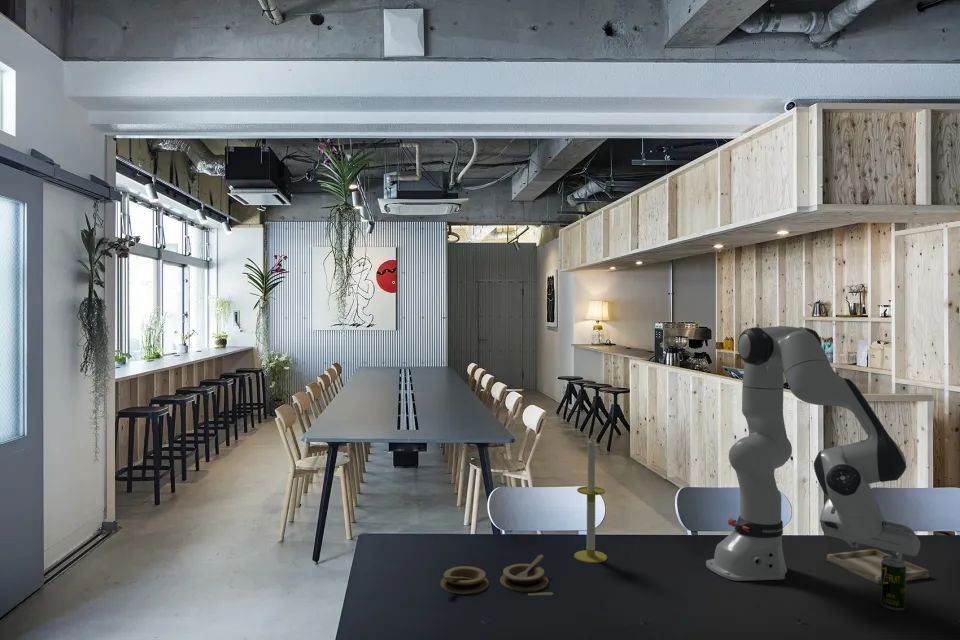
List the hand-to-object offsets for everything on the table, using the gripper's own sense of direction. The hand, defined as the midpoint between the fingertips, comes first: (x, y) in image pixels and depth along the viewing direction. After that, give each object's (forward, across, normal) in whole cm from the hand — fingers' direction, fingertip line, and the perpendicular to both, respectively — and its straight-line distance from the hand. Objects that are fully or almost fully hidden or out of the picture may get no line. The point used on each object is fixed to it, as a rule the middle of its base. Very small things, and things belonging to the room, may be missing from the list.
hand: (876, 550), depth 161 cm
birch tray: (+38, +12, -14) cm, 42 cm away
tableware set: (-26, +77, +51) cm, 96 cm away
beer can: (+21, 0, +4) cm, 21 cm away
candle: (-2, +72, +26) cm, 77 cm away
